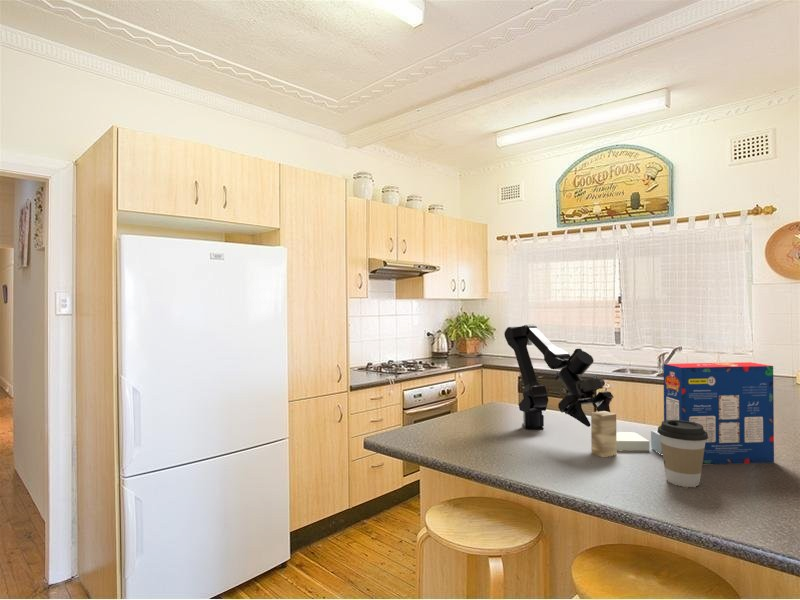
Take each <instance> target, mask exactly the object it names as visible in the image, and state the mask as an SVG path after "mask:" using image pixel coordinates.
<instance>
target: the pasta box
mask: <svg viewBox="0 0 800 600" xmlns="http://www.w3.org/2000/svg"><path fill="white" fill-rule="evenodd" d="M774 398H775V397H774V366H773V365H770V364H763V363H757V362H756V363H755V362H751V361H750V362H749V361H748V362H746V361H745V362H744V361H743V362H742V361H741V362H698V363H697V362H695V363H694V362H693V363H689V362H688V363H685V362H684V363H680V362H679V363H663V421H665V420H683V421H690V422H694V423H698V424H700V425H702V426H703V429H704V431H706V432H707V434H708V439H707V440H706V442H705V449H704V456H703V463H702V464H713V465H735V464H738V465H739V464H760V463H761V464H762V463H765V464H766V463H767V464H768V463H775V430H774V429H775V425H774V424H775V421H774V420H775V418H774V417H775V413H774V410H775V408H774V407H775V406H774V402H775V401H774Z"/></svg>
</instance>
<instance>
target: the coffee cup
mask: <svg viewBox="0 0 800 600" xmlns="http://www.w3.org/2000/svg"><path fill="white" fill-rule="evenodd" d="M656 431H657V432H658V433H659V434H660V440H661V447H662V454H663V456H662V460H663V465H664V466H663V467H664V472H665V477H666V481H667V480H668V481H669V482H670V483H669V482H668V481H667V482H668V483H669V484H671V483H673V484H672V485H674V484H676V485H675V486H677V485H678V486H677V487H680V486H683V487H682V488H688V487H694V488H697V487H696V486H698V485H699V486H700V483H701V477H702V471H703V470H702V469H703V465H702V463H703V456H704V449H705V442H706V440H707V439H708V434H707V432H706V431H704V429H703V426H702V425H700V424H698V423H694V422H690V421H683V420H665V421H664V420H662V421H661V425H659V426H657V430H656ZM699 486H698V487H699Z"/></svg>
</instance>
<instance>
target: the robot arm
mask: <svg viewBox="0 0 800 600" xmlns="http://www.w3.org/2000/svg"><path fill="white" fill-rule="evenodd" d="M504 339H505V341H506V342H507V345H508V346H509V347H510V348H511V349H512V350H513V351H514V354H515V359H516V361H517V364H518V365H517V366H518V367H519V372H520V375H521V377H522V382H523V385H524V388H523V391H522V397H523V398H522V400H521V401H520V403H519V404H518V408H519V411H521V412H523V414H522V415H523V416H522V417H523V418H522V419H523V420H522V421H523V423H522V426H523V428H524V429H526V430H544V429H545V428H544V426H545V425H544V424H545V422H544V420H545V418H544V417H545V415H543V412H545V411H546V410H547V407H548V404H549V403H548V402H549V396H550V395H549V394H548V392H547V388H546V385H543V384H542V385H541V384H540V383H539V382H538V379H537V375H536V373H535V369H534V367H533V363H532V360H531V356H530V353H529V350H528V346H527V345H528V342H529V341H530V342H531V343H532V344H533V345H534V346H535V347H536V348H537V350H538V351H539V352H541V354H542V355H543V360H544V362H545V363H546V365H547V366H548V368H549V369H551V370H559V369H560V371H559V372H558V371H557V372H556V374H555V377H554V378H555V381H556V382H557V381H562V384H563V385H564V387H565V388H566V390H565V393H566V395H564V397H563V398H562V399H561V400H560V401H559V402H558V404H557V405H558V410H560V411H559V412H560V413H562V414H563V413H564V414H565V415H568V416H570V417H571V418H574V419H575V420H577V421H578V422H580V423H582V424H583V426H586V427H587V428H588V427H589V428H590V427H591V422H590V421H589V419H588V417H587V416H586V413H585V412H584V410H583V408H582V405H589V404H592V406H593V407H594V408H595V411H596V412H600V411H607V412H611V410H610V403H611V402H612V400H613V399H614V396H613V394H612V393H611V391H608V390H607V391H606V390H605V391H598V393H597V394H596V391H597V390H602V389H604V387H605V385H606V383H605V379H604V378H602V376H596V377H593V378H589V379H587V380H585V379H582V378H581V376H582V375H584V374H585V373H586V372H587V370H588V369H589V368H590V367H591V366H592V365H593V363H594V361H595V360H594V357H593V356H592V355H591V354H589V352H586V351H584V350H583V349H582V348H575V349H574V350H573V353H572V354H570V353H568V352H567V351H566V350H564V349H563V348H560V347H558V346H556V345H554V344H553V343H552V342H551V341H550V340H549V339H548V338H547V337H546V336H545V335H544V334H543V333H542V332H541V331H540V330H539V329H538V327H537V326H536V325H535V324H524V325H520V326H508V327H506V329H505V330H504ZM595 394H596V395H595ZM593 395H595V396H593Z"/></svg>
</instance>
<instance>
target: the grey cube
mask: <svg viewBox="0 0 800 600" xmlns="http://www.w3.org/2000/svg"><path fill="white" fill-rule="evenodd" d="M651 448H652V449H654V450H655V451H657V452H659V453H660V454H662V447H661V440H660V434H659V433H658V432H657V430H650V449H651ZM652 449H651V450H652ZM655 451H654V452H655ZM657 452H656V453H657ZM660 454H659V455H660Z"/></svg>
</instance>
